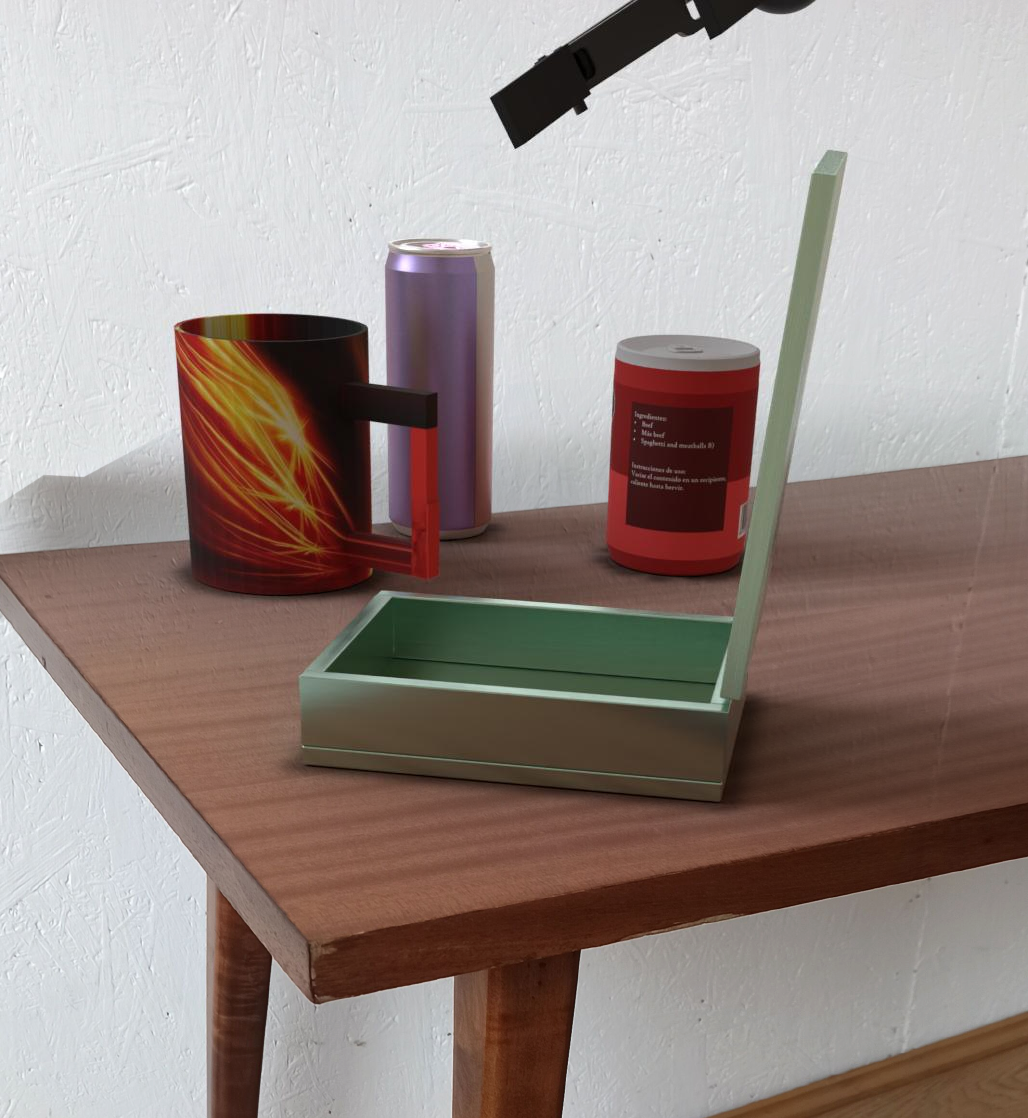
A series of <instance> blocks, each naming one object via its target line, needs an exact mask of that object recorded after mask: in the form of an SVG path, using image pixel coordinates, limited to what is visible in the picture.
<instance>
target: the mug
mask: <svg viewBox="0 0 1028 1118" xmlns="http://www.w3.org/2000/svg"><path fill="white" fill-rule="evenodd" d="M173 331H174V343H175V347H174V348H175V359H176V372H177V375H176V376H177V387H178V388H177V389H178V401H179V412H180V414H179V415H180V416H179V417H180V428H181V430H180V431H181V442H182V456H183V468H184V469H183V470H184V482H185V483H184V485H185V495H186V497H185V498H186V511H187V523H188V526H187V527H188V537H189V553H190V566H191V567H190V568H191V575H192V577H194V579H196V581H198V582H200V583H202V584H204V585H206V586H209V587H212V588H216V589H220V590H225V591H229V592H235V593H242V594H254V595H270V596H271V595H274V596H275V595H276V596H285V595H306V594H307V595H309V594H318V593H326V592H332V591H336V590H341V589H346V588H349V587H352V586H355V585H358V584H360V583H362V582H364V581H366V580H368V579H369V578H370V577H371V576H372V574H373V571H374V570H379V571H383V572H389V573H396V574H401V575H405V576H410V577H412V578H418V579H423V580H431V579H433V578H436V577H438V576H440V540H439V500H438V392H431V391H424V390H417V389H409V388H401V387H394V386H387V384H380V383H379V384H378V383H370V351H369V350H370V349H369V348H370V347H369V346H370V345H369V343H370V342H369V327H368V326H367V324H365V323H362V322H359V321H357V320H353V319H347V318H341V317H336V316H328V315H327V316H326V315H319V314H318V315H317V314H303V313H278V312H277V313H273V312H271V313H268V312H267V313H266V312H265V313H263V312H262V313H261V312H260V313H259V312H258V313H253V312H252V313H233V314H218V315H208V316H201V317H193V318H189V319H185V320H182V321H179V322H177V323H175V324H174V325H173ZM372 422H373V423H379V424H386V425H387V424H392V425H399V426H406V427H411V525H412V537H411V539H406V538H399V537H395V536H394V537H393V536H389V535H388V536H387V535H382V534H376V533H373V508H372V507H373V504H372V503H373V501H372V500H373V499H372V454H371V453H372V451H371V450H372V449H371V423H372Z"/></svg>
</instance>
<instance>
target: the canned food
mask: <svg viewBox="0 0 1028 1118" xmlns="http://www.w3.org/2000/svg"><path fill="white" fill-rule="evenodd" d="M761 363H762V362H761V349H760V348H759V347H757V346H756V345H755V344H752V343H749V342H746V341H742V340H739V339H738V340H737V339H733V338H725V337H718V336H710V335H698V334H697V335H694V334H648V335H639V336H632V337H628V338H624V339H621V340H620V341H618V342H617V343H616V350H615V353H614V366H613V368H614V371H613V380H612V381H613V383H612V405H611V424H610V425H611V426H610V428H611V429H610V446H609V447H610V448H609V449H610V450H609V473H608V490H607V491H608V495H607V515H606V516H607V517H606V538H605V541H606V546H607V549H608V555H609V557H610V558H611V559H612V560H613V561H614V562H615V563H616V564H618V565H621V566H622V567H625V568H627V569H631V570H634V571H638V572H642V573H646V574H647V573H648V574H653V575H662V576H663V575H664V576H677V577H679V576H681V577H682V576H683V577H685V576H687V577H688V576H690V577H691V576H692V577H693V576H706V575H715V574H718V573H722V572H726V571H729V570H731V569H732V568H733V567H735V566H736V565H737V564H738V563H739V561H740V558H741V555H742V553H743V551H744V547H745V540H746V539H745V538H746V529H747V519H748V518H747V517H748V508H749V507H748V506H749V497H750V495H749V494H750V485H751V476H752V475H751V474H752V465H753V453H754V443H755V442H754V441H755V433H756V432H755V431H756V422H757V421H756V420H757V411H758V402H759V401H758V400H759V399H758V398H759V389H760V388H759V387H760V373H761Z"/></svg>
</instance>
